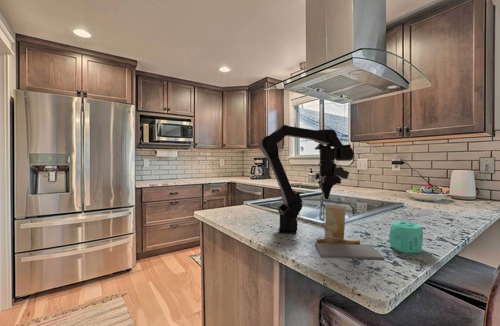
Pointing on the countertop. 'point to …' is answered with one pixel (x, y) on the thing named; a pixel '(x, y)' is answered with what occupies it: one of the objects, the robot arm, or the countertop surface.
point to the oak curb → (338, 241)
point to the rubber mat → (348, 251)
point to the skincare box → (335, 222)
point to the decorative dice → (406, 237)
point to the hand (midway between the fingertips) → (326, 198)
